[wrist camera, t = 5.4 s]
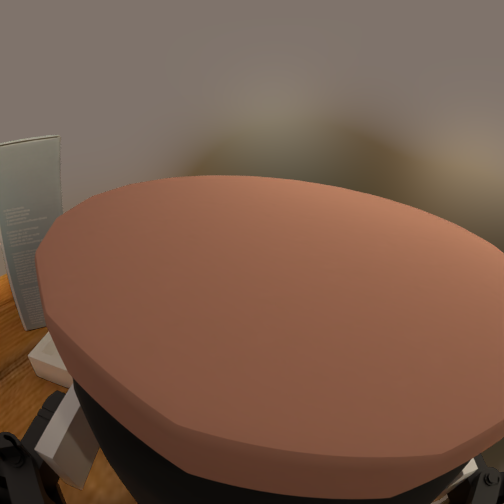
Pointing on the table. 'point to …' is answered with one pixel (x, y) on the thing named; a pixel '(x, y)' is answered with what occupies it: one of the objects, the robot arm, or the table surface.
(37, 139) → the hard drive box
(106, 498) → the table surface
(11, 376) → the table surface
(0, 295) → the table surface
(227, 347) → the coffee jar
